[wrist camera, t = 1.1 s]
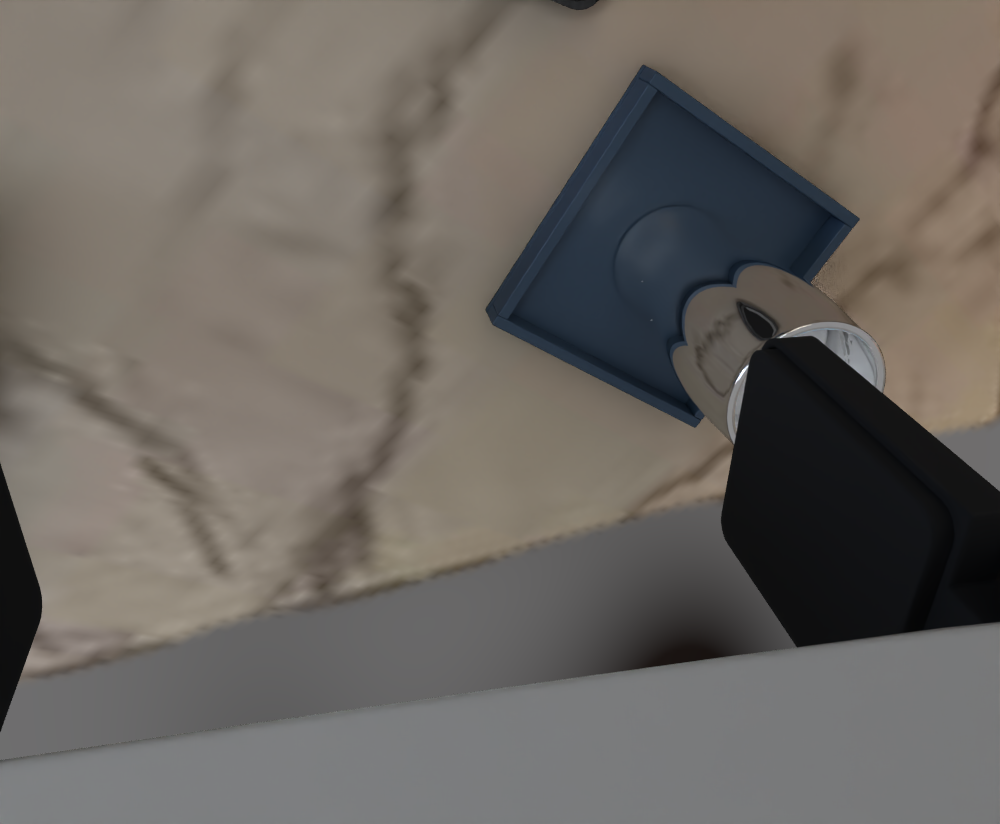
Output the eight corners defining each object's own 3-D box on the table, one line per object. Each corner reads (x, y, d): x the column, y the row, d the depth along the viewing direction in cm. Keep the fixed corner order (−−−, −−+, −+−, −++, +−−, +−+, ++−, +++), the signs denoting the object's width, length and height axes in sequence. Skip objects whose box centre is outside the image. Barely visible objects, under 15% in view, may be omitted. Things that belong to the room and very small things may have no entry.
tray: (642, 64, 41) (656, 71, 40) (841, 208, 47) (860, 219, 46) (485, 309, 46) (491, 324, 44) (683, 412, 52) (695, 428, 50)
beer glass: (689, 168, 44) (848, 279, 31) (752, 265, 47) (917, 400, 35) (579, 256, 45) (689, 398, 32) (649, 344, 49) (772, 503, 36)
